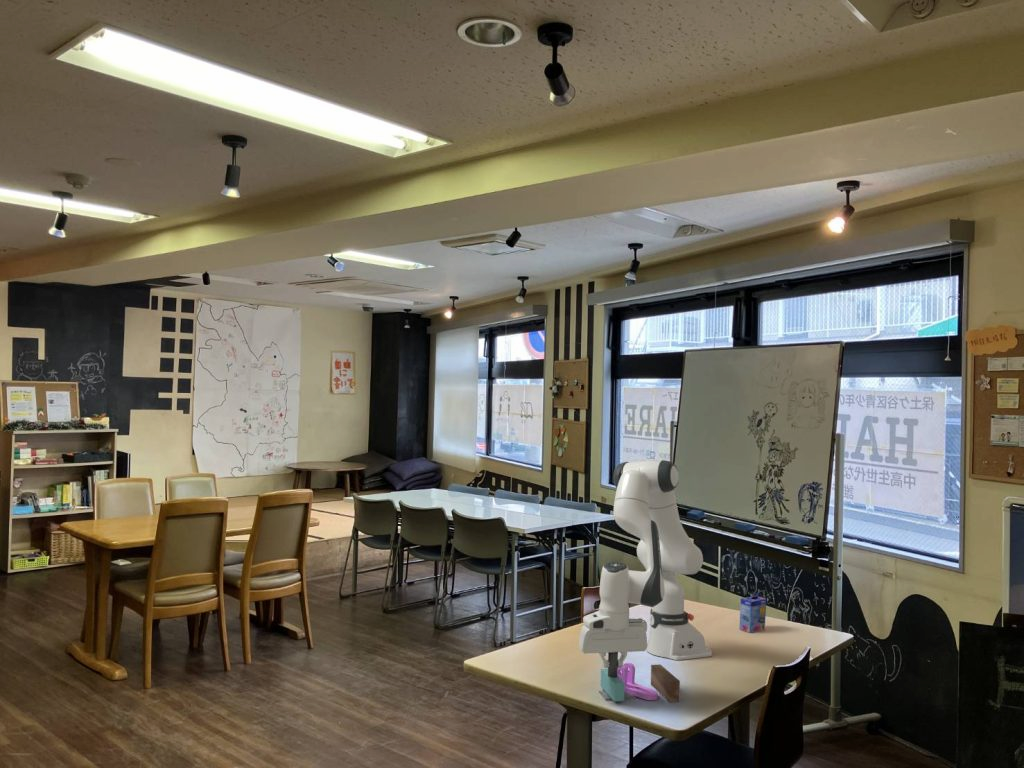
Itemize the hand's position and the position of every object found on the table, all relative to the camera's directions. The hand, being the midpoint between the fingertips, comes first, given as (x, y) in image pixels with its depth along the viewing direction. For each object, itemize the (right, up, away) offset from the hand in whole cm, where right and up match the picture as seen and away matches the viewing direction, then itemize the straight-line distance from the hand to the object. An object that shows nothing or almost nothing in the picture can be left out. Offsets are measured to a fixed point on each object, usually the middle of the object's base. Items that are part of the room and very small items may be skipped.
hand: (612, 666), depth 219 cm
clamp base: (+7, -9, +1) cm, 11 cm away
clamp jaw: (0, -8, 0) cm, 8 cm away
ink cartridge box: (+64, -13, +72) cm, 97 cm away
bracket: (+7, -9, +2) cm, 12 cm away
